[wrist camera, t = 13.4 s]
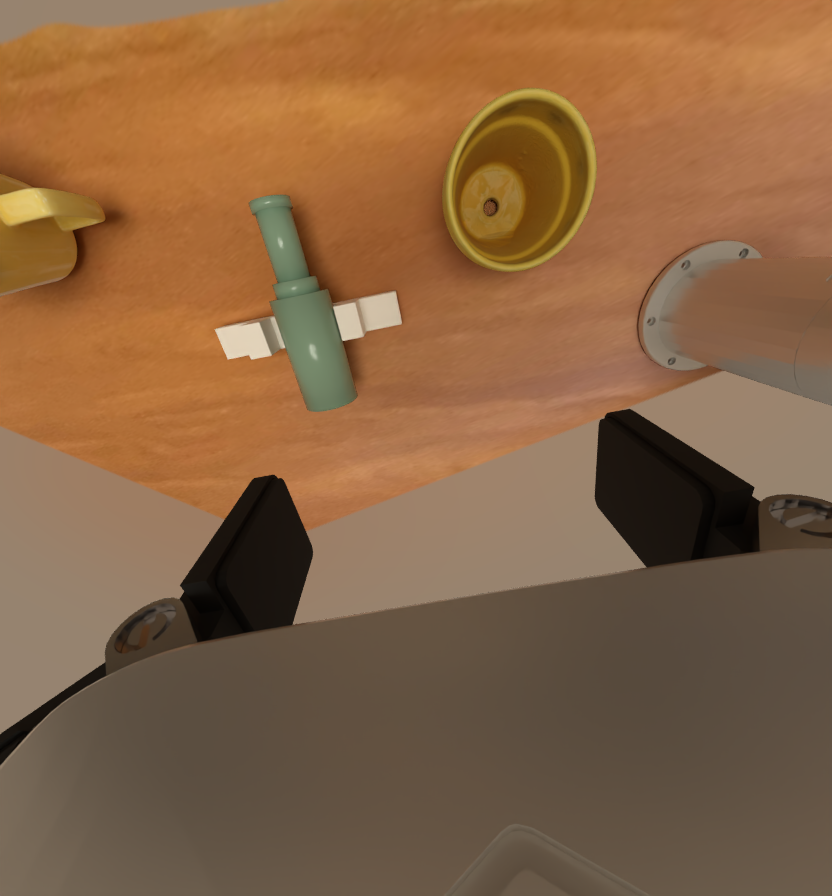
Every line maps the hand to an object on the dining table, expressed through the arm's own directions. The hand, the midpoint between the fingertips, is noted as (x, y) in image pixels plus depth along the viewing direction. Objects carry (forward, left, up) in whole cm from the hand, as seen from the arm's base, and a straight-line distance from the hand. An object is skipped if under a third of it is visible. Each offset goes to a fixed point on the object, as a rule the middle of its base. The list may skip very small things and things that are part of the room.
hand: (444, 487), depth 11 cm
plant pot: (-9, -9, -31) cm, 33 cm away
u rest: (+10, -2, -30) cm, 32 cm away
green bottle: (+9, +5, -26) cm, 28 cm away
